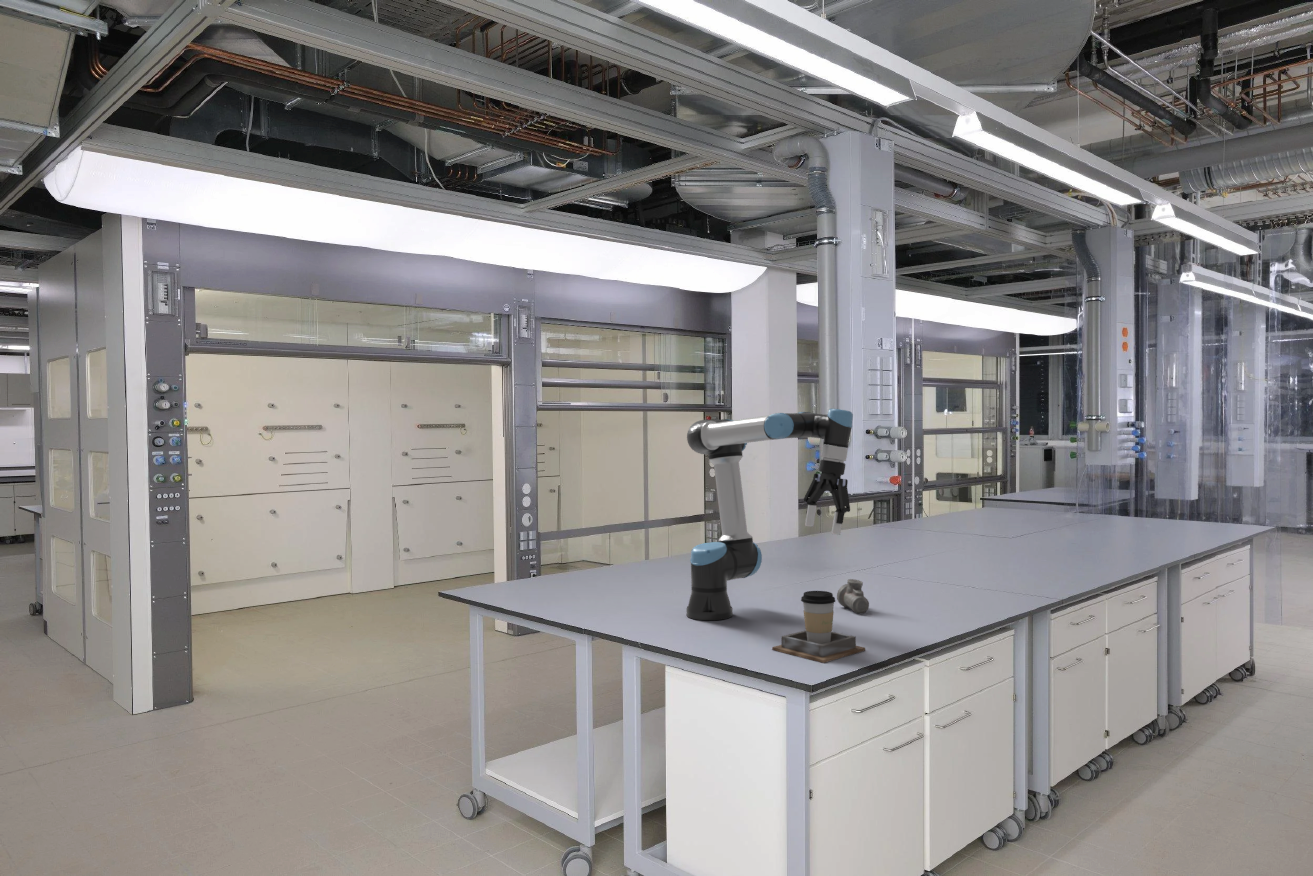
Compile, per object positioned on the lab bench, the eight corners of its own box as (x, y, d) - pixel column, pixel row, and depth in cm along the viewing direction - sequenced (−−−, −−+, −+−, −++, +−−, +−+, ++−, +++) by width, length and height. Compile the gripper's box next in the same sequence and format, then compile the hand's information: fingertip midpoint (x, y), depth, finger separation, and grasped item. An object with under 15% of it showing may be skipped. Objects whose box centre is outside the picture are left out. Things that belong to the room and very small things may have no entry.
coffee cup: (833, 653, 238) (832, 597, 237) (798, 650, 241) (797, 595, 240) (838, 644, 246) (837, 591, 246) (804, 642, 250) (804, 589, 249)
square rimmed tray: (772, 650, 245) (772, 636, 245) (814, 638, 256) (813, 625, 256) (823, 663, 231) (823, 648, 231) (865, 650, 243) (865, 636, 242)
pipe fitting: (834, 605, 299) (838, 576, 297) (857, 606, 300) (860, 577, 299) (847, 617, 287) (851, 587, 286) (871, 618, 288) (874, 588, 287)
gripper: (869, 466, 254) (857, 539, 255) (819, 457, 277) (808, 524, 277) (848, 463, 251) (836, 536, 251) (799, 454, 273) (788, 522, 274)
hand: (822, 530), depth 264 cm, fingers open, 13 cm apart
